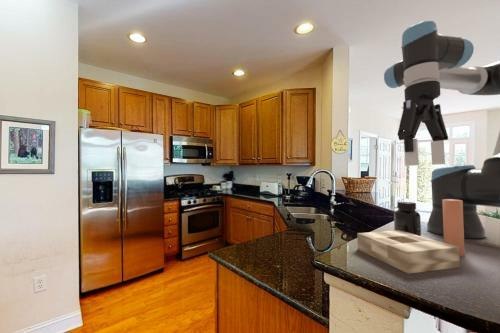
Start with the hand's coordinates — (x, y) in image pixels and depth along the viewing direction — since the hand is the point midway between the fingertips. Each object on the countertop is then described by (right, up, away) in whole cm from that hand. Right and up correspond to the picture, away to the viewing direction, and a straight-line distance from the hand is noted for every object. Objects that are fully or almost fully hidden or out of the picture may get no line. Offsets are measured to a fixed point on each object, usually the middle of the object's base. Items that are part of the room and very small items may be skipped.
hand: (425, 165), depth 60 cm
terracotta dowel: (+7, -23, 0) cm, 24 cm away
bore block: (-7, -23, -2) cm, 25 cm away
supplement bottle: (+3, -24, +11) cm, 27 cm away
